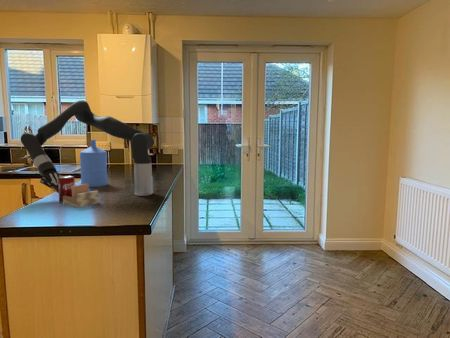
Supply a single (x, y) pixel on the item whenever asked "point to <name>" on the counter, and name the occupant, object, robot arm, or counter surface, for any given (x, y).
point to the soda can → (65, 186)
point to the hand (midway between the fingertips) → (60, 192)
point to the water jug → (93, 166)
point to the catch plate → (79, 189)
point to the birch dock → (82, 199)
